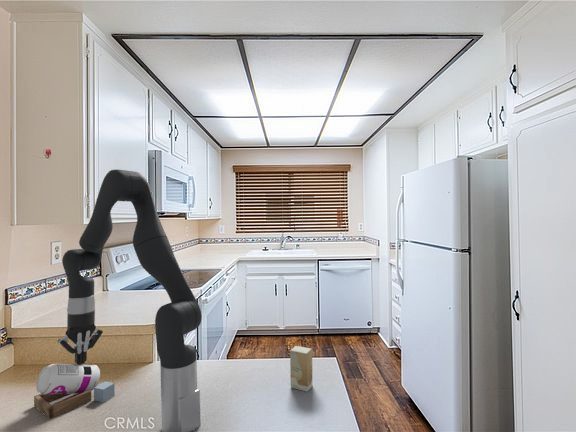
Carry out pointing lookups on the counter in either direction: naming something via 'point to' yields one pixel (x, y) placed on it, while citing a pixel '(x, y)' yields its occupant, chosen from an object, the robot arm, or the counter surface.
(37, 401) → the frame
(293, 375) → the skincare box
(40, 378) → the supplement can
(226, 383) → the counter surface
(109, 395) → the slate-blue block
